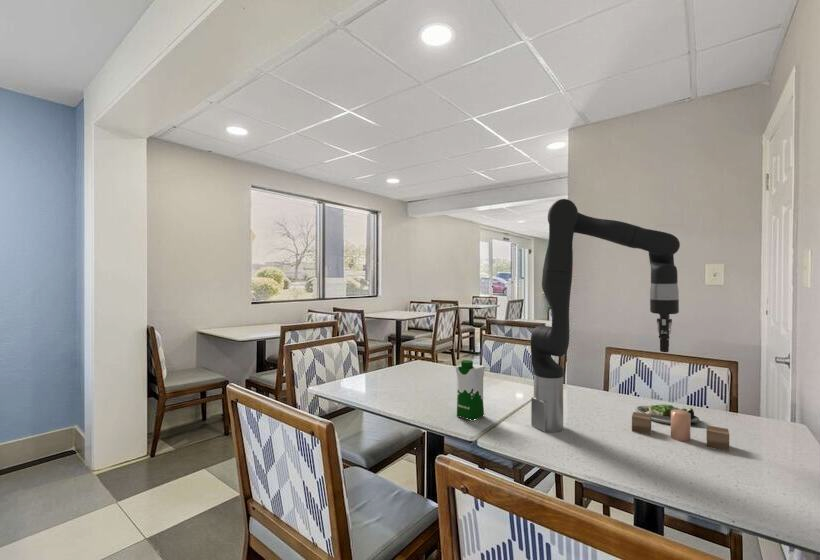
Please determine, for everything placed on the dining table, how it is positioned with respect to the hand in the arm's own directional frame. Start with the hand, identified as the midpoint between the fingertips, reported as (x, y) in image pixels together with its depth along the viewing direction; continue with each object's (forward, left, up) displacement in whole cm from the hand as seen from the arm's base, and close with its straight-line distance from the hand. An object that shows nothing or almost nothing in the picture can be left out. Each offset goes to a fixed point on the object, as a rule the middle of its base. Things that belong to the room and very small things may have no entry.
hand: (664, 349), depth 122 cm
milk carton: (-47, +39, -27) cm, 66 cm away
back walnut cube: (-4, +5, -27) cm, 28 cm away
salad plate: (+16, +9, -27) cm, 33 cm away
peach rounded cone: (+1, -4, -27) cm, 27 cm away
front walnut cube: (+5, -12, -27) cm, 30 cm away
